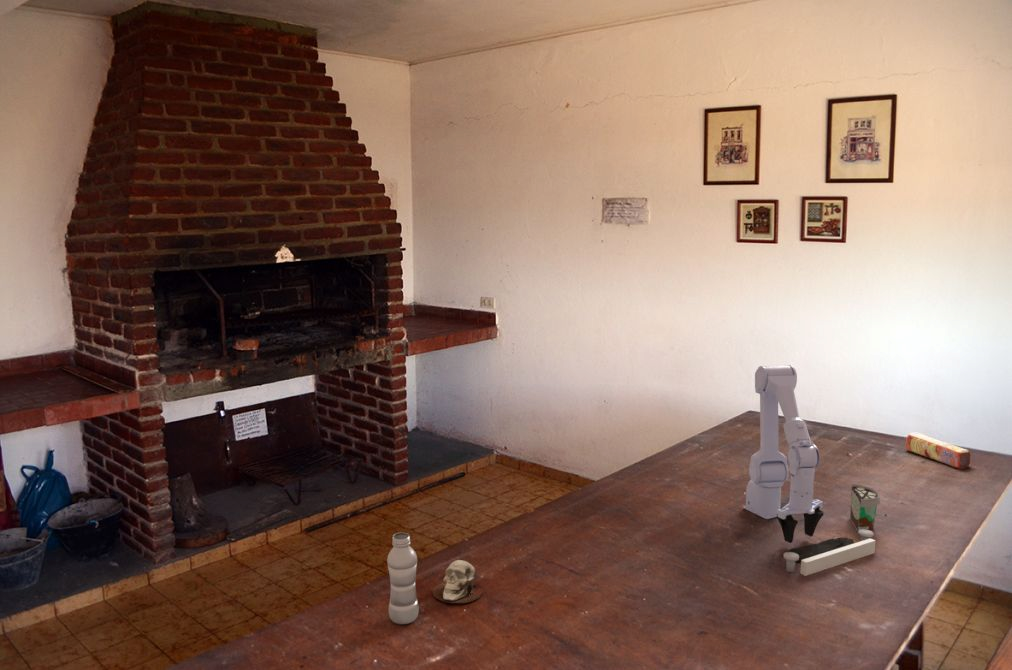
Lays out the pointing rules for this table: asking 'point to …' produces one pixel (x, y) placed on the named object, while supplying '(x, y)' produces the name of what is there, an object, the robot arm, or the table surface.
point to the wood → (820, 548)
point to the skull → (457, 583)
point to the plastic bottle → (402, 580)
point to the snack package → (938, 450)
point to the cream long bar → (833, 555)
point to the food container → (863, 506)
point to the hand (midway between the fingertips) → (798, 538)
